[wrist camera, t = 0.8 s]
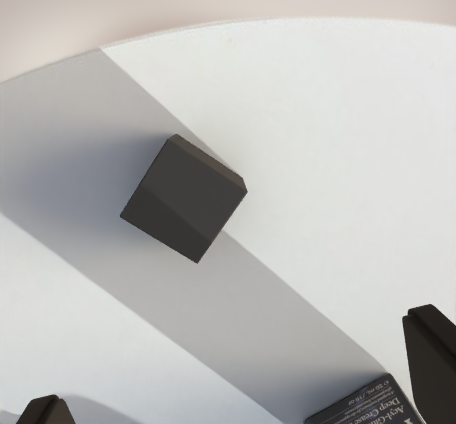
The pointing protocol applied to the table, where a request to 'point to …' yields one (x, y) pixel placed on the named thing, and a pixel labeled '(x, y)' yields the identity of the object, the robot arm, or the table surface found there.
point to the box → (371, 406)
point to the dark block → (185, 198)
